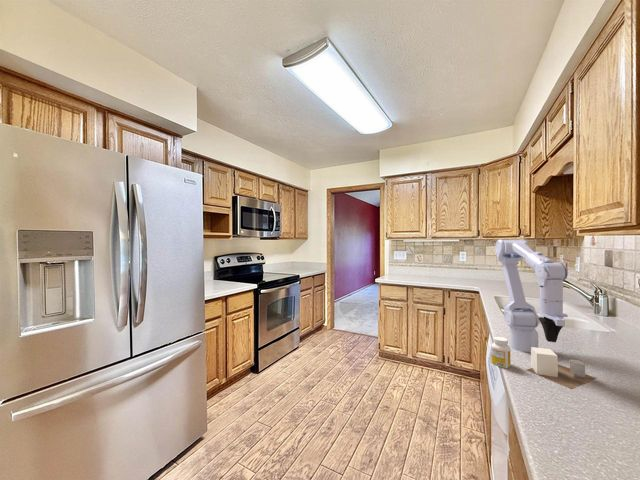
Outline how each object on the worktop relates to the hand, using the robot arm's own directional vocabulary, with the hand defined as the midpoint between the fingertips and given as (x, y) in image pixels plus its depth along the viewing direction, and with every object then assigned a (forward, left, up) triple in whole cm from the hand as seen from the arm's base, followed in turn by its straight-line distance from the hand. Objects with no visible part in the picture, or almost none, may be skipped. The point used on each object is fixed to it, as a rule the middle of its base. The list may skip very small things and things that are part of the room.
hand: (551, 341), depth 87 cm
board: (+1, +3, -10) cm, 11 cm away
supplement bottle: (+11, -9, -11) cm, 18 cm away
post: (-2, +6, -9) cm, 11 cm away
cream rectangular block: (+4, 0, -9) cm, 10 cm away
